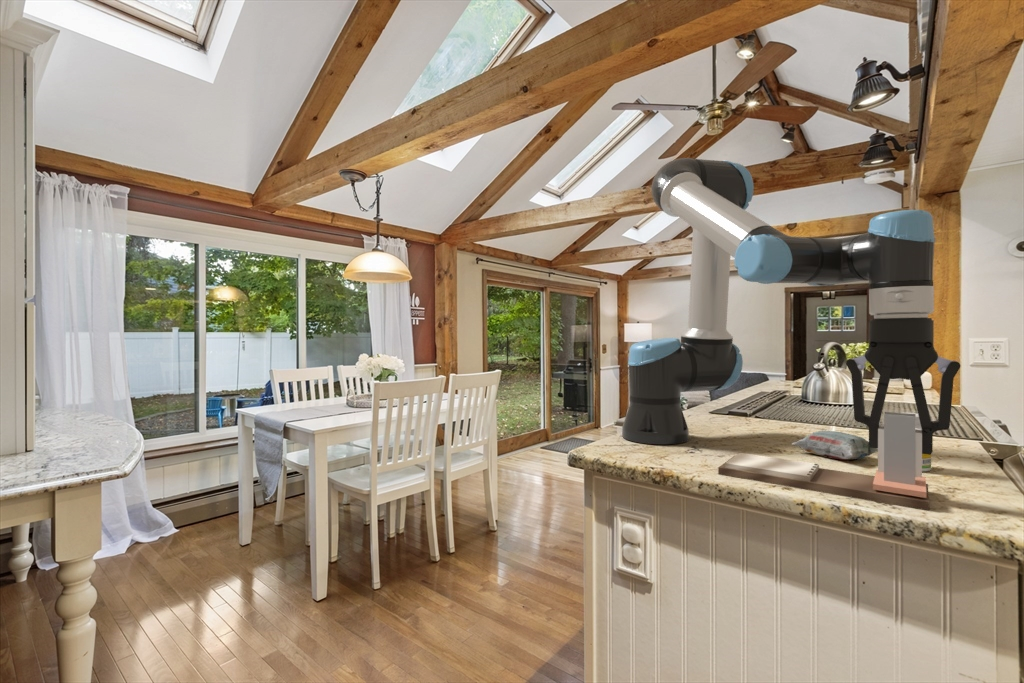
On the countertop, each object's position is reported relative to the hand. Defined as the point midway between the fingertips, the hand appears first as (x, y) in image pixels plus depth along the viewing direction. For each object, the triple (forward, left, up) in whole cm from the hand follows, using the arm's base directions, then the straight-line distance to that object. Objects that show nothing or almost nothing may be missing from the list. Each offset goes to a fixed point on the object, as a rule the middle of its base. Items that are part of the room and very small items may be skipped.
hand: (899, 472), depth 72 cm
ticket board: (-9, -6, -4) cm, 11 cm away
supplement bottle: (-10, +17, -4) cm, 20 cm away
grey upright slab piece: (0, 0, -2) cm, 2 cm away
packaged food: (-20, +11, -4) cm, 24 cm away
